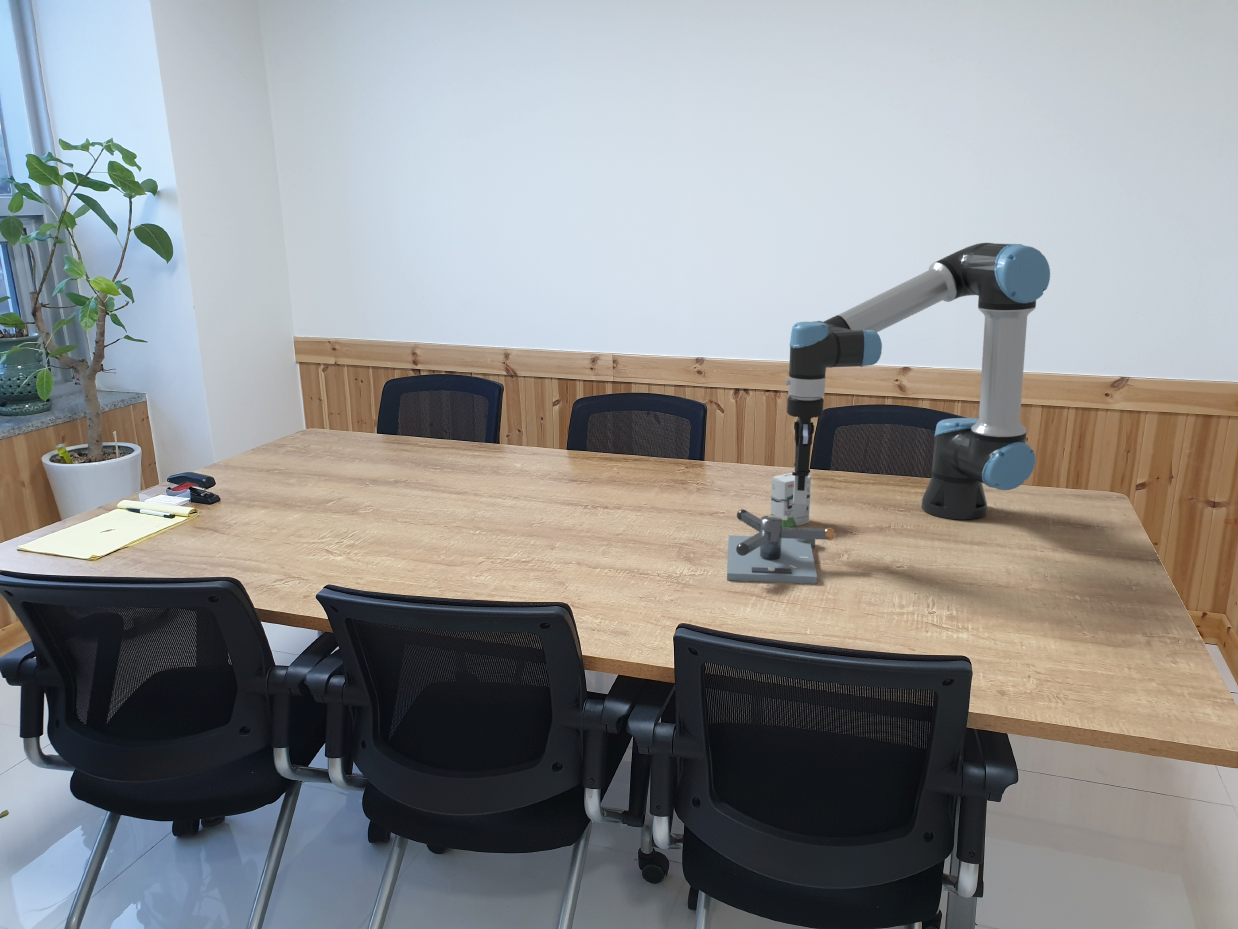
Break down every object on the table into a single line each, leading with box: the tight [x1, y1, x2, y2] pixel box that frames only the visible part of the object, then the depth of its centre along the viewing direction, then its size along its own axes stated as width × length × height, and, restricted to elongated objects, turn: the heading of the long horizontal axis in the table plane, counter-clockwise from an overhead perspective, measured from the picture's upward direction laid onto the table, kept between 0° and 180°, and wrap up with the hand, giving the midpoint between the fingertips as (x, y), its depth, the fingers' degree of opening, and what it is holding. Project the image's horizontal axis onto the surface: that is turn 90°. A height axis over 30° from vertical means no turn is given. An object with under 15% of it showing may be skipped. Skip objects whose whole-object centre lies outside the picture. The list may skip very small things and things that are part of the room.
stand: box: [726, 534, 818, 585], centre depth 195 cm, size 19×23×3 cm
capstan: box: [736, 508, 836, 560], centre depth 192 cm, size 21×23×9 cm
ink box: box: [770, 472, 812, 528], centre depth 216 cm, size 9×5×12 cm, turn 123°
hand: (799, 502), depth 198 cm, fingers closed
